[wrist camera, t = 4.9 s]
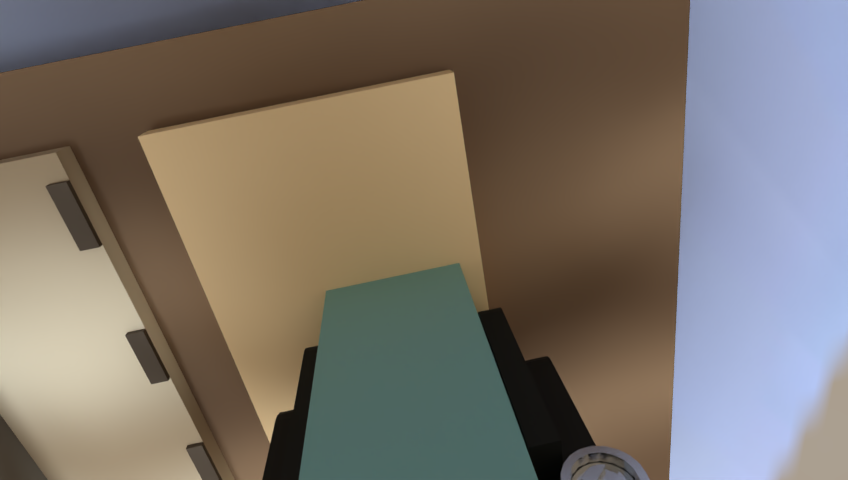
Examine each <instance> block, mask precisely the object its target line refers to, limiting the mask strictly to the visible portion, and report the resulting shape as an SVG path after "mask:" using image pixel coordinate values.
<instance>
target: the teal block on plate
mask: <svg viewBox="0 0 848 480" xmlns="http://www.w3.org/2000/svg"><path fill="white" fill-rule="evenodd" d="M138 139H139V141H140V143H141V146H142V148H143V150H144V153H145V155H146V157H147V160H148V162H149V164H150V167H151V169H152V171H153V174H154V176H155V178H156V181H157V183H158V185H159V188H160V190H161V192H162V194H163V197H164V199H165V201H166V204H167V206H168V208H169V211H170V213H171V215H172V218H173V220H174V222H175V225H176V227H177V229H178V232H179V234H180V236H181V238H182V241H183V243H184V245H185V248H186V250H187V252H188V255H189V257H190V259H191V262H192V264H193V266H194V269H195V271H196V273H197V276H198V278H199V280H200V283H201V285H202V287H203V289H204V292H205V294H206V296H207V299H208V301H209V303H210V306H211V308H212V310H213V313H214V315H215V317H216V320H217V322H218V324H219V327H220V329H221V331H222V334H223V336H224V338H225V340H226V343H227V345H228V347H229V350H230V352H231V354H232V357H233V359H234V361H235V364H236V366H237V368H238V371H239V373H240V375H241V378H242V380H243V382H244V385H245V387H246V389H247V391H248V394H249V396H250V398H251V401H252V403H253V405H254V408H255V410H256V412H257V415H258V417H259V419H260V422H261V424H262V426H263V429H264V431H265V433H266V435H267V438H268V440H269V442H271V438H272V433H273V429H274V424H275V420H276V417H277V415H278V414H279V413H280V412H285V411H289V410H293V409H294V404H295V398H296V393H297V387H298V382H299V376H300V371H301V365H302V360H303V354H304V350H305V348H308V347H313V346H318V350H317V357H316V364H315V371H314V378H313V385H312V391H311V398H310V405H309V412H308V419H307V426H306V433H305V440H304V447H303V453H302V460H301V467H300V474H299V480H538V478H537V475H536V473H535V470H534V467H533V464H532V462H531V459H530V456H529V453H528V451H527V448H526V445H525V442H524V440H523V437H522V434H521V431H520V429H519V426H518V423H517V420H516V418H515V415H514V412H513V409H512V407H511V404H510V401H509V398H508V396H507V393H506V390H505V387H504V385H503V382H502V379H501V376H500V374H499V371H498V368H497V365H496V363H495V360H494V357H493V354H492V352H491V349H490V346H489V343H488V341H487V338H486V335H485V332H484V330H483V327H482V324H481V321H480V319H479V316H478V312H480V311H485V310H489V307H488V300H487V293H486V286H485V280H484V273H483V266H482V259H481V253H480V246H479V239H478V232H477V226H476V219H475V212H474V205H473V199H472V192H471V185H470V178H469V172H468V165H467V158H466V151H465V145H464V138H463V131H462V124H461V117H460V111H459V104H458V97H457V90H456V84H455V77H454V72H453V71H451V70H445V71H440V72H435V73H430V74H425V75H420V76H415V77H411V78H406V79H401V80H396V81H391V82H386V83H381V84H376V85H371V86H366V87H361V88H356V89H351V90H347V91H342V92H337V93H332V94H327V95H322V96H317V97H312V98H307V99H302V100H297V101H292V102H287V103H282V104H278V105H273V106H268V107H263V108H258V109H253V110H248V111H243V112H238V113H233V114H228V115H223V116H218V117H213V118H209V119H204V120H199V121H194V122H189V123H184V124H179V125H174V126H169V127H164V128H159V129H154V130H149V131H147V132H145V133H143V134H141V135H140V136H138Z"/></svg>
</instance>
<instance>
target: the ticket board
mask: <svg viewBox="0 0 848 480" xmlns="http://www.w3.org/2000/svg"><path fill="white" fill-rule="evenodd" d="M689 13H690V0H362V1H357V2H352V3H347V4H342V5H337V6H332V7H327V8H322V9H317V10H312V11H307V12H302V13H297V14H292V15H287V16H282V17H277V18H272V19H267V20H262V21H257V22H252V23H247V24H242V25H237V26H232V27H227V28H222V29H217V30H212V31H207V32H202V33H197V34H192V35H187V36H182V37H177V38H172V39H167V40H162V41H157V42H152V43H147V44H142V45H137V46H132V47H127V48H122V49H117V50H112V51H107V52H102V53H97V54H92V55H87V56H82V57H77V58H72V59H67V60H62V61H57V62H52V63H47V64H42V65H37V66H32V67H27V68H22V69H17V70H12V71H7V72H2V73H0V480H262V478H263V474H264V469H265V465H266V460H267V456H268V451H269V447H270V442H269V440H268V438H267V435H266V433H265V431H264V429H263V426H262V424H261V422H260V419H259V417H258V415H257V412H256V410H255V408H254V405H253V403H252V401H251V398H250V396H249V394H248V391H247V389H246V387H245V385H244V382H243V380H242V378H241V375H240V373H239V371H238V368H237V366H236V364H235V361H234V359H233V357H232V354H231V352H230V350H229V347H228V345H227V343H226V340H225V338H224V336H223V334H222V331H221V329H220V327H219V324H218V322H217V320H216V317H215V315H214V313H213V310H212V308H211V306H210V303H209V301H208V299H207V296H206V294H205V292H204V289H203V287H202V285H201V283H200V280H199V278H198V276H197V273H196V271H195V269H194V266H193V264H192V262H191V259H190V257H189V255H188V252H187V250H186V248H185V245H184V243H183V241H182V238H181V236H180V234H179V232H178V229H177V227H176V225H175V222H174V220H173V218H172V215H171V213H170V211H169V208H168V206H167V204H166V201H165V199H164V197H163V194H162V192H161V190H160V188H159V185H158V183H157V181H156V178H155V176H154V174H153V171H152V169H151V167H150V164H149V162H148V160H147V157H146V155H145V153H144V150H143V148H142V146H141V143H140V141H139V139H138V136H140V135H141V134H143V133H145V132H147V131H149V130H154V129H159V128H164V127H169V126H174V125H179V124H184V123H189V122H194V121H199V120H204V119H209V118H213V117H218V116H223V115H228V114H233V113H238V112H243V111H248V110H253V109H258V108H263V107H268V106H273V105H278V104H282V103H287V102H292V101H297V100H302V99H307V98H312V97H317V96H322V95H327V94H332V93H337V92H342V91H347V90H351V89H356V88H361V87H366V86H371V85H376V84H381V83H386V82H391V81H396V80H401V79H406V78H411V77H415V76H420V75H425V74H430V73H435V72H440V71H445V70H451V71H453V72H454V77H455V84H456V90H457V97H458V104H459V111H460V117H461V124H462V131H463V138H464V145H465V151H466V158H467V165H468V172H469V178H470V185H471V192H472V199H473V205H474V212H475V219H476V226H477V232H478V239H479V246H480V253H481V259H482V266H483V273H484V280H485V286H486V293H487V300H488V307H489V310H490V309H495V308H499V307H501V308H502V310H503V312H504V315H505V317H506V319H507V321H508V324H509V326H510V328H511V330H512V332H513V335H514V337H515V339H516V341H517V344H518V346H519V348H520V350H521V352H522V355H523V357H524V359H525V361H526V360H530V359H535V358H540V357H545V356H548V357H549V358H550V359H551V361H552V363H553V365H554V366H555V368H556V370H557V372H558V374H559V376H560V378H561V380H562V382H563V384H564V386H565V387H566V389H567V391H568V393H569V395H570V397H571V399H572V401H573V403H574V405H575V407H576V408H577V410H578V412H579V414H580V416H581V418H582V420H583V422H584V424H585V426H586V428H587V429H588V431H589V433H590V435H591V437H592V439H593V441H594V443H595V445H596V446H607V447H611V448H615V449H618V450H620V451H622V452H624V453H626V454H628V455H630V456H631V457H633V458H634V459H635V460H636V461H637V462H638V463H640V464H641V466H642V467H643V469H644V470H645V472H646V473H647V475H648V477H649V479H650V480H669V468H670V445H671V422H672V399H673V377H674V354H675V331H676V308H677V286H678V263H679V240H680V217H681V195H682V172H683V149H684V126H685V104H686V81H687V58H688V36H689Z"/></svg>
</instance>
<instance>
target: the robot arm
mask: <svg viewBox="0 0 848 480" xmlns="http://www.w3.org/2000/svg"><path fill="white" fill-rule="evenodd" d="M478 316H479V319H480V321H481V324H482V327H483V330H484V332H485V335H486V338H487V341H488V343H489V346H490V349H491V352H492V354H493V357H494V360H495V363H496V365H497V368H498V371H499V374H500V376H501V379H502V382H503V385H504V387H505V390H506V393H507V396H508V398H509V401H510V404H511V407H512V409H513V412H514V415H515V418H516V420H517V423H518V426H519V429H520V431H521V434H522V437H523V440H524V442H525V445H526V448H527V451H528V453H529V456H530V459H531V462H532V464H533V467H534V470H535V473H536V475H537V478H538V480H650V479H649V477H648V475H647V473H646V472H645V470H644V469H643V467H642V466H641V464H640V463H638V462H637V461H636V460H635V459H634V458H633V457H631V456H630V455H628V454H626V453H624V452H622V451H620V450H618V449H615V448H611V447H607V446H596V445H595V443H594V441H593V439H592V437H591V435H590V433H589V431H588V429H587V428H586V426H585V424H584V422H583V420H582V418H581V416H580V414H579V412H578V410H577V408H576V407H575V405H574V403H573V401H572V399H571V397H570V395H569V393H568V391H567V389H566V387H565V386H564V384H563V382H562V380H561V378H560V376H559V374H558V372H557V370H556V368H555V366H554V365H553V363H552V361H551V359H550V358H549V357H548V356H545V357H540V358H535V359H530V360H526V361H525V359H524V357H523V355H522V352H521V350H520V348H519V346H518V344H517V341H516V339H515V337H514V335H513V332H512V330H511V328H510V326H509V324H508V321H507V319H506V317H505V315H504V312H503V310H502V308H501V307H499V308H495V309H490V310H485V311H480V312H478ZM317 350H318V346H313V347H308V348H305V350H304V354H303V360H302V365H301V371H300V376H299V382H298V387H297V393H296V398H295V404H294V409H293V410H289V411H285V412H280V413H279V414H278V415H277V417H276V420H275V424H274V429H273V433H272V438H271V442H270V447H269V451H268V456H267V460H266V465H265V469H264V474H263V478H262V480H299V474H300V467H301V460H302V453H303V447H304V440H305V433H306V426H307V419H308V412H309V405H310V398H311V391H312V385H313V378H314V371H315V364H316V357H317Z"/></svg>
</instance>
